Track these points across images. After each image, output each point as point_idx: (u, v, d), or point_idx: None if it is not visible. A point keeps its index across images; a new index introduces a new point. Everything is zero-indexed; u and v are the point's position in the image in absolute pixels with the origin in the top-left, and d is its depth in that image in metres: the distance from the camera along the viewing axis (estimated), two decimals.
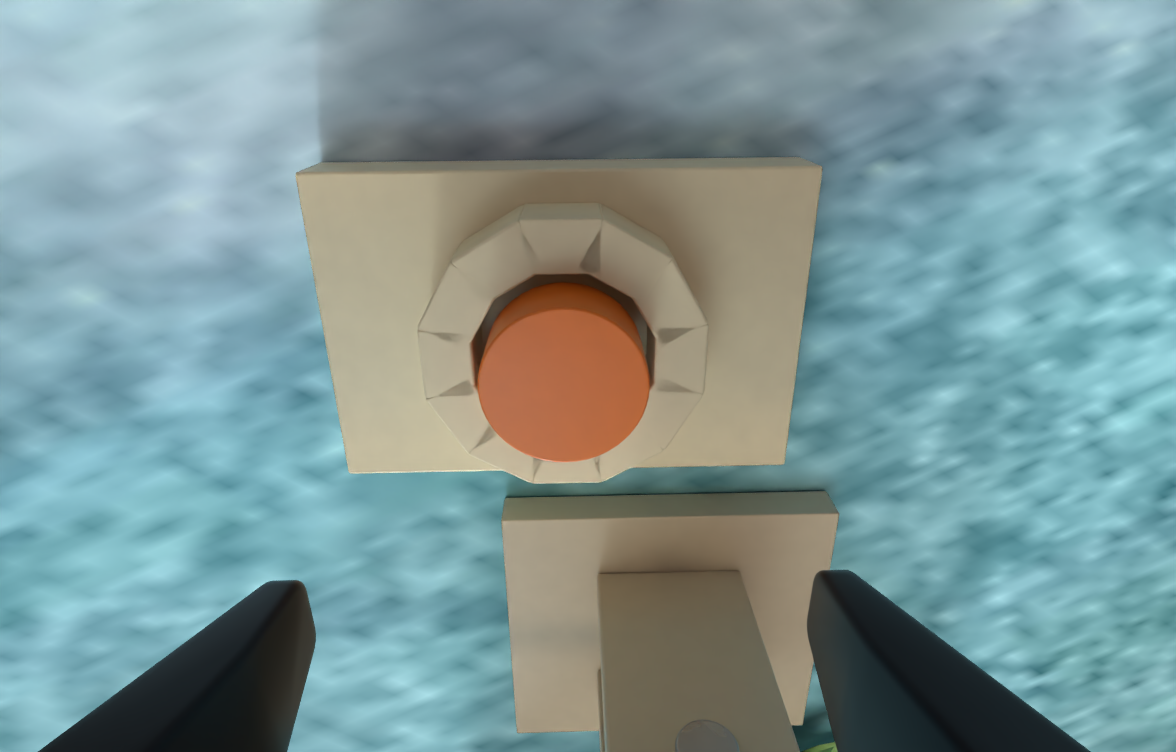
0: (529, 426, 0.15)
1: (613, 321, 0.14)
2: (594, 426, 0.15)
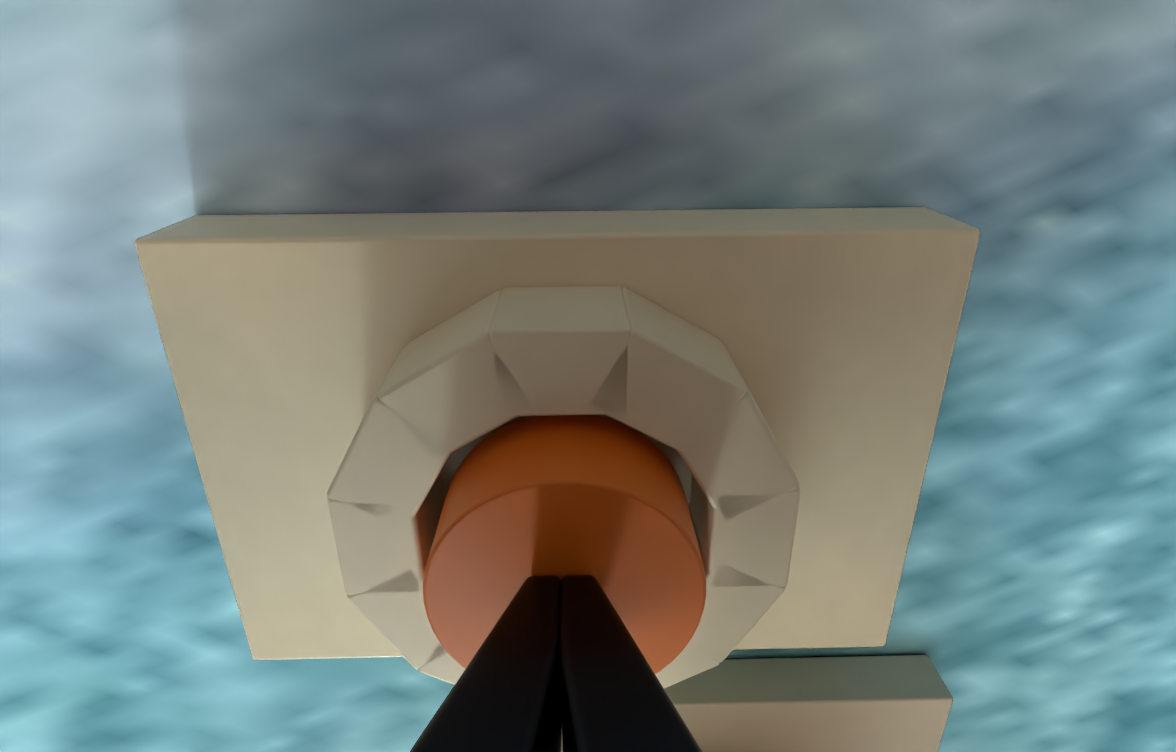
0: None
1: (649, 499, 0.08)
2: None
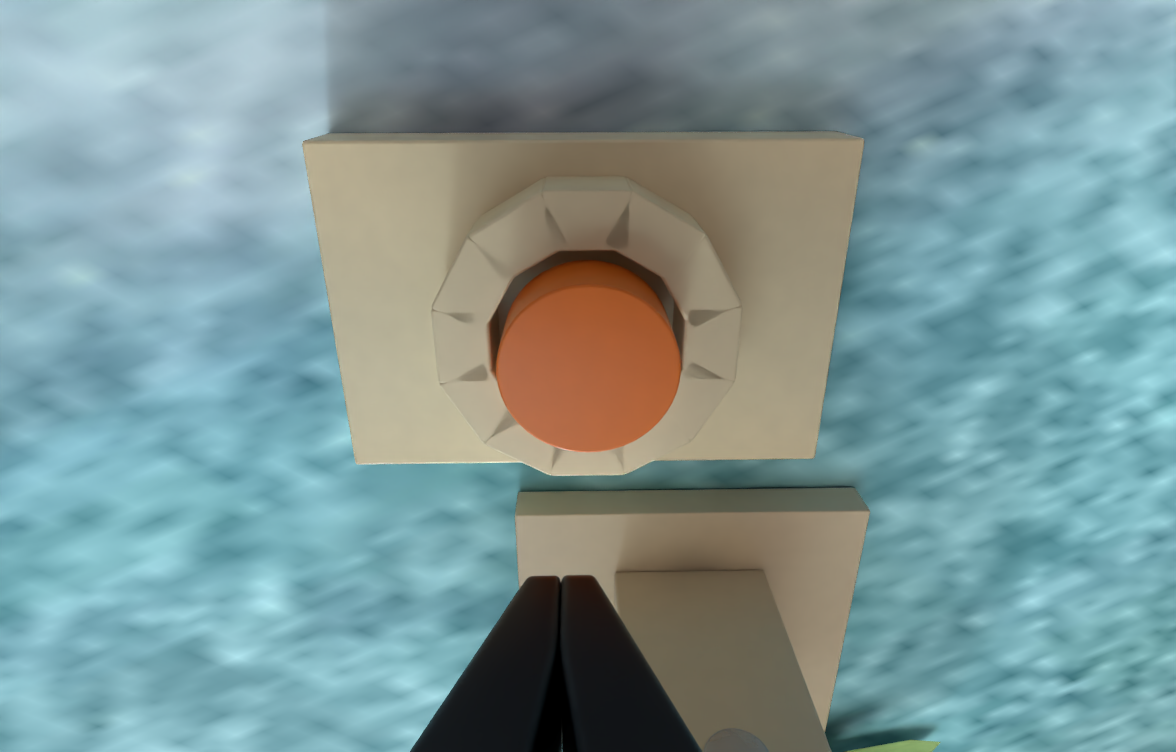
0: (551, 413, 0.14)
1: (644, 299, 0.13)
2: (620, 413, 0.14)
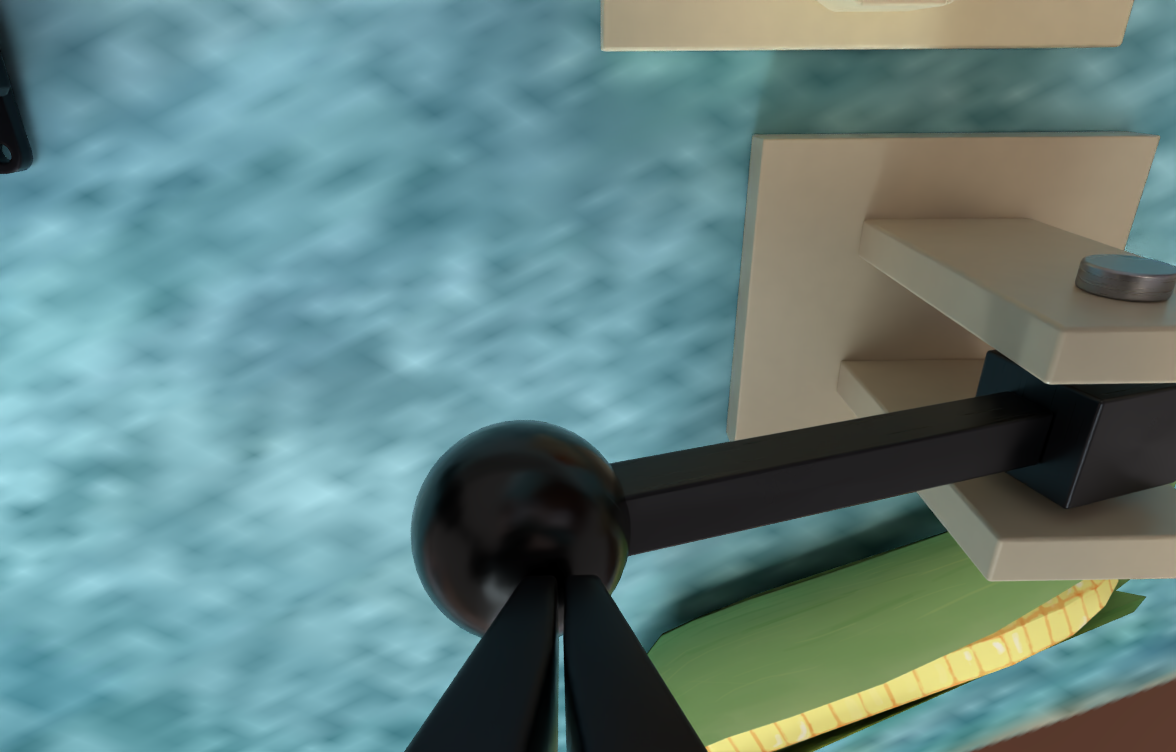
0: None
1: None
2: None
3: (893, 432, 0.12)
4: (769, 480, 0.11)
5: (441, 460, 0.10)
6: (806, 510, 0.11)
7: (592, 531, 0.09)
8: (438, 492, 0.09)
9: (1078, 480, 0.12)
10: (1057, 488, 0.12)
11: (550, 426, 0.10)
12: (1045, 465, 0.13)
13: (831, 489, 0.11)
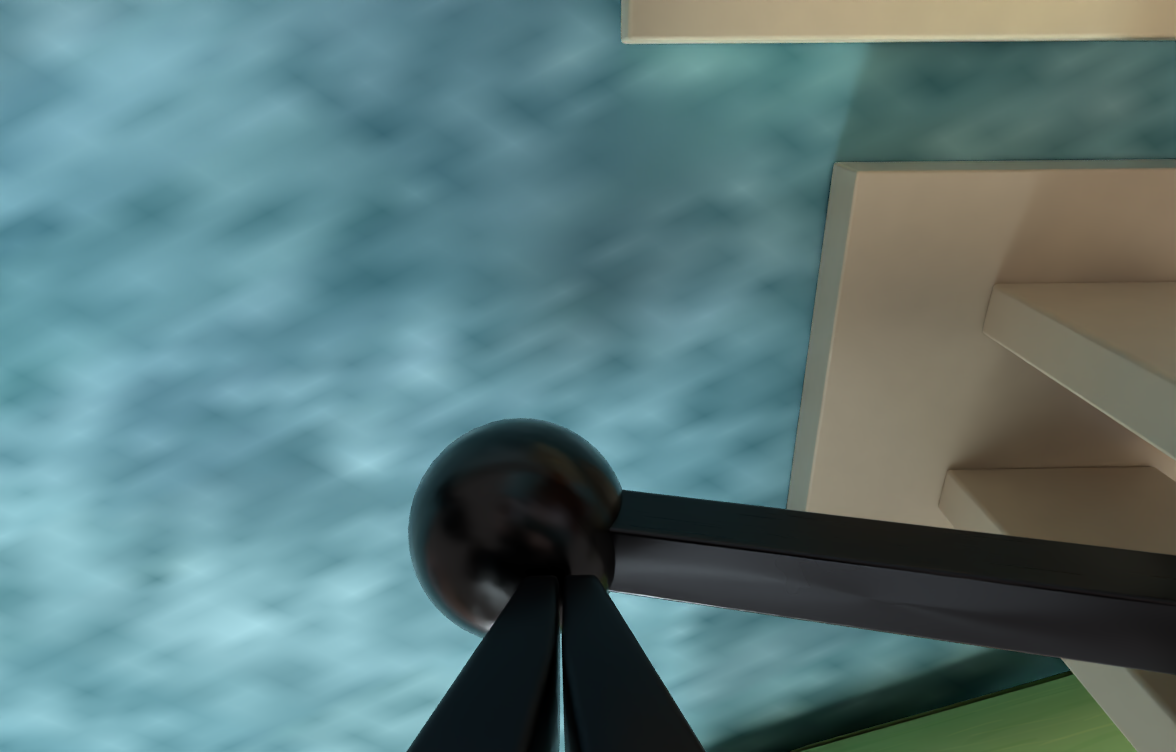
0: None
1: None
2: None
3: (1008, 564, 0.08)
4: (793, 566, 0.09)
5: (457, 439, 0.10)
6: (848, 619, 0.09)
7: (538, 549, 0.09)
8: (432, 466, 0.10)
9: None
10: None
11: (559, 434, 0.10)
12: None
13: (887, 606, 0.09)
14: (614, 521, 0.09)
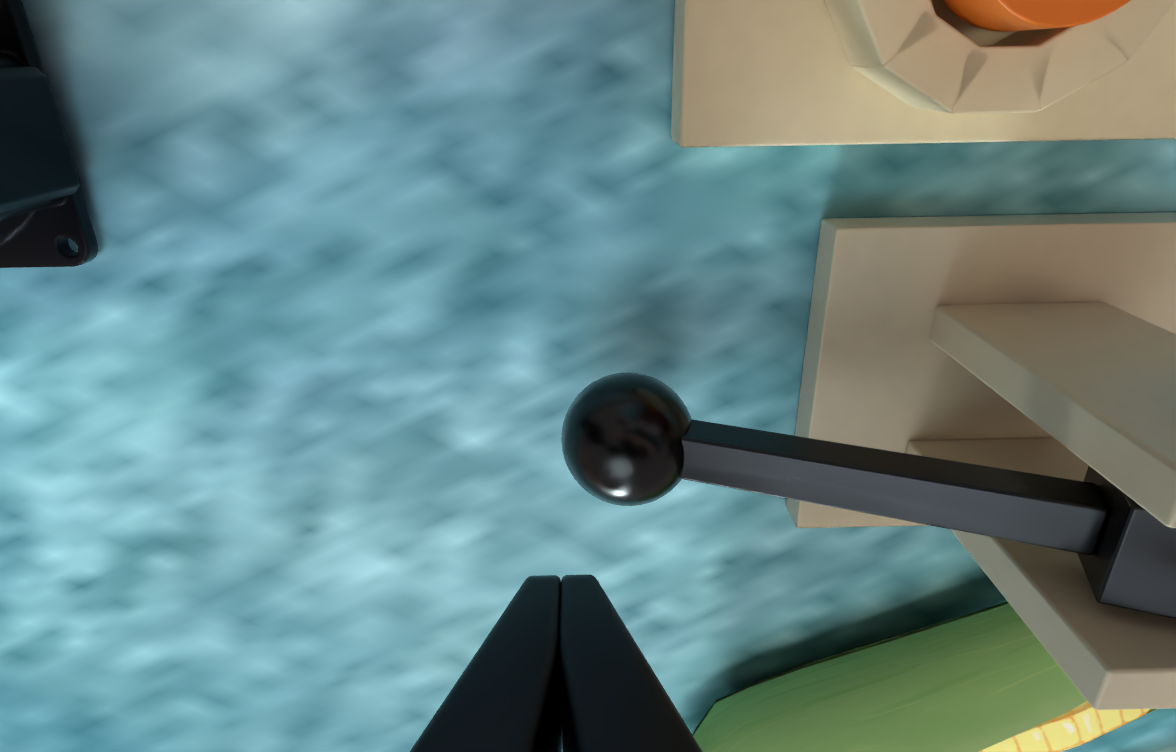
0: None
1: None
2: None
3: (920, 469, 0.14)
4: (790, 464, 0.15)
5: (592, 383, 0.17)
6: (823, 500, 0.15)
7: (639, 443, 0.15)
8: (578, 397, 0.16)
9: (1111, 578, 0.13)
10: (1096, 581, 0.13)
11: (654, 382, 0.16)
12: (1096, 558, 0.13)
13: (846, 492, 0.15)
14: (684, 434, 0.16)
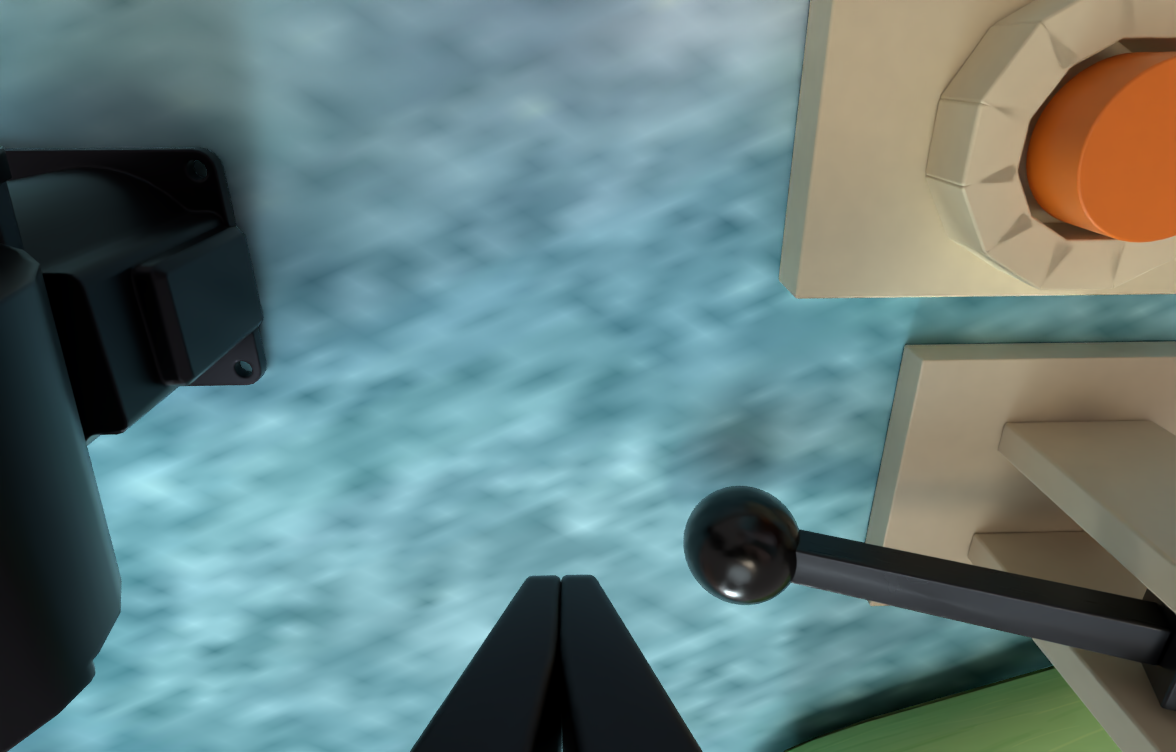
0: (1120, 197, 0.14)
1: None
2: None
3: (1008, 587, 0.17)
4: (893, 578, 0.17)
5: (710, 494, 0.19)
6: (921, 608, 0.17)
7: (762, 557, 0.17)
8: (700, 509, 0.19)
9: (1174, 689, 0.15)
10: (1160, 689, 0.16)
11: (768, 498, 0.19)
12: (1160, 668, 0.16)
13: (942, 603, 0.17)
14: (798, 546, 0.18)
